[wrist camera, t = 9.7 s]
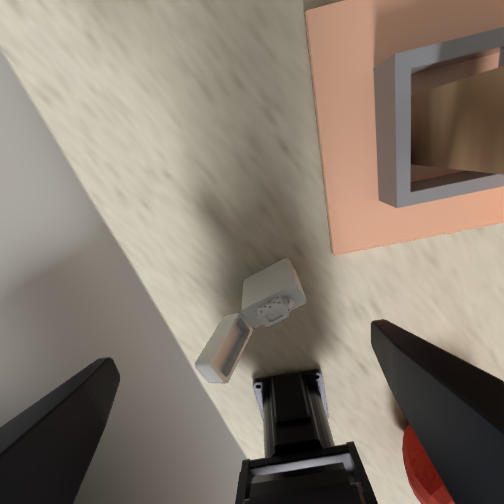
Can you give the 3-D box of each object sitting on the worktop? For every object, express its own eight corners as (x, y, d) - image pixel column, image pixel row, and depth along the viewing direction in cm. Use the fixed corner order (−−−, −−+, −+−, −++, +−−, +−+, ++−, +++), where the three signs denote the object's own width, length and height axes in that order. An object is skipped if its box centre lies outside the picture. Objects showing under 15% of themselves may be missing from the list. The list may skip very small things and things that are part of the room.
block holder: (536, 212, 19) (584, 223, 17) (331, 253, 20) (344, 269, 18) (587, -61, 14) (671, -114, 11) (304, 14, 15) (316, -16, 12)
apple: (477, 423, 28) (558, 522, 20) (413, 458, 30) (465, 559, 22) (437, 385, 26) (510, 480, 18) (371, 426, 28) (414, 525, 20)
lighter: (287, 256, 21) (307, 317, 13) (297, 273, 21) (322, 341, 14) (211, 296, 22) (191, 373, 14) (223, 312, 22) (209, 393, 15)
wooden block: (469, 151, 17) (673, 155, 9) (407, 164, 18) (547, 179, 9) (475, 81, 16) (726, 7, 8) (407, 96, 16) (575, 42, 8)
